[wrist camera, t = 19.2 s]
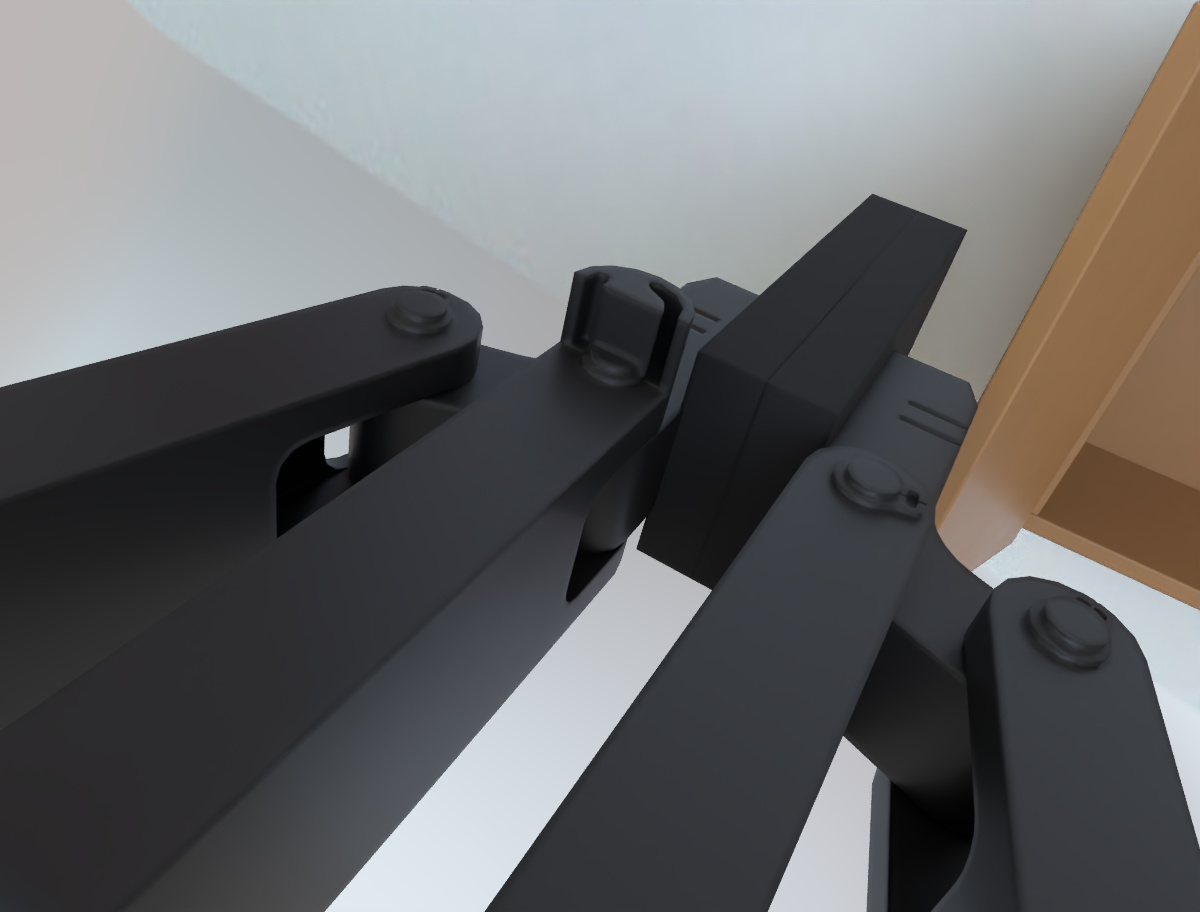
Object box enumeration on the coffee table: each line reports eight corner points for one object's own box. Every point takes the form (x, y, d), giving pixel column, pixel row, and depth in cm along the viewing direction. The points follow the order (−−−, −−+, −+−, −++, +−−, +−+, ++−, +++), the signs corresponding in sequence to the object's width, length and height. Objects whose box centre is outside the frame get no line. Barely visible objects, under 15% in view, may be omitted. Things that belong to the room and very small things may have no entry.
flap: (1012, 543, 18) (994, 531, 18) (1350, 17, 12) (1317, 7, 12) (875, 640, 15) (856, 623, 15) (1232, 11, 9) (1194, -1, 10)
